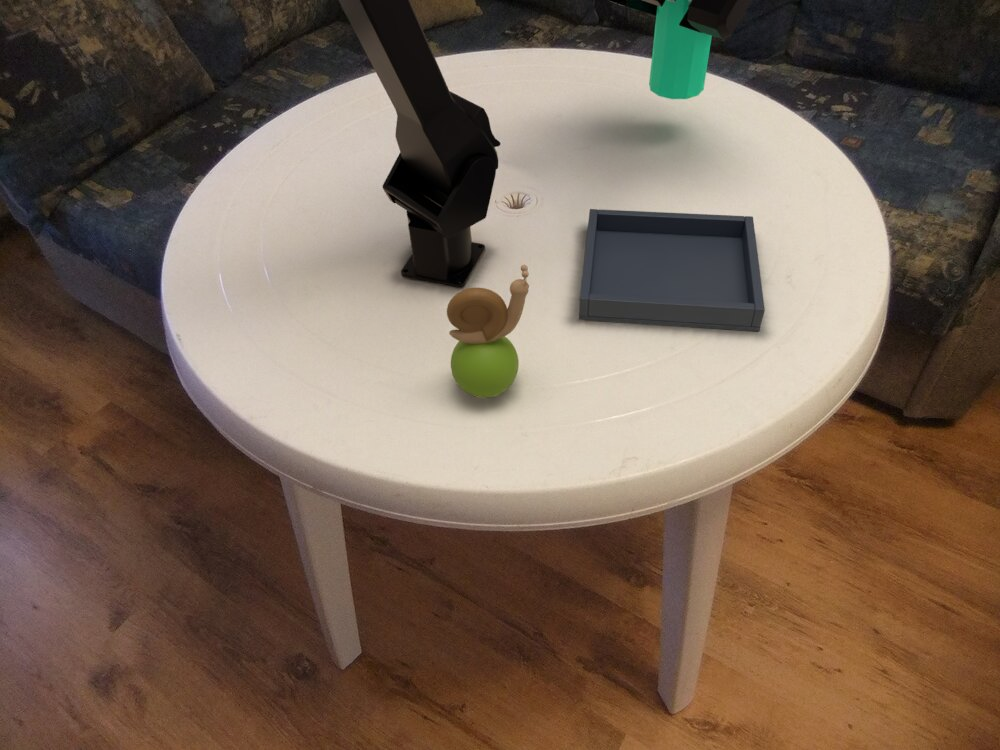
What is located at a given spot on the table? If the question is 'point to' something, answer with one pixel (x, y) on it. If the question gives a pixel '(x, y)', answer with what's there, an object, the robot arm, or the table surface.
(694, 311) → the tray
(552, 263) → the table surface
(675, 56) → the candle
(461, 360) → the snail figurine
